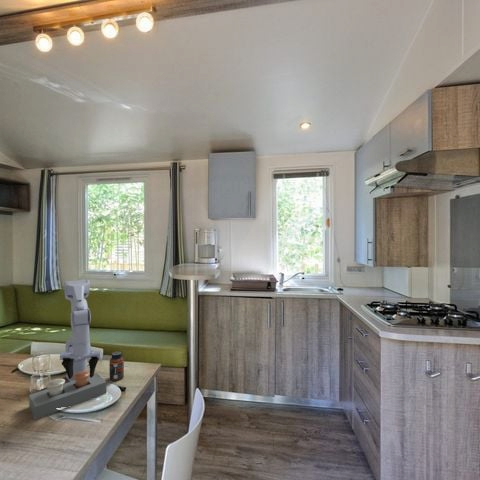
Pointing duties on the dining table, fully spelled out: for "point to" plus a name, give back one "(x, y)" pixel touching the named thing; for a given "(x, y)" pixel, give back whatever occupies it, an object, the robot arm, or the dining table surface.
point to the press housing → (66, 396)
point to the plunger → (55, 387)
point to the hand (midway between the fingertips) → (81, 376)
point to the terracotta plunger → (81, 378)
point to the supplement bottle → (116, 366)
